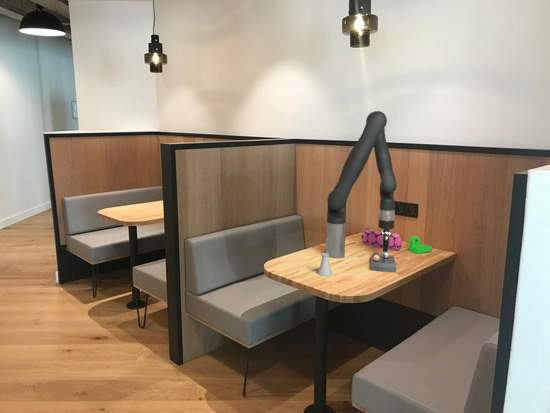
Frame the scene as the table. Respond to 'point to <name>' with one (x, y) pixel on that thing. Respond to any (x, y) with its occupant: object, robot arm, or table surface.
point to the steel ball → (385, 254)
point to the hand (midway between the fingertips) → (385, 252)
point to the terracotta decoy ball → (376, 258)
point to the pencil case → (376, 239)
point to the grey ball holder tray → (383, 264)
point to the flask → (325, 266)
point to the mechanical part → (418, 246)
